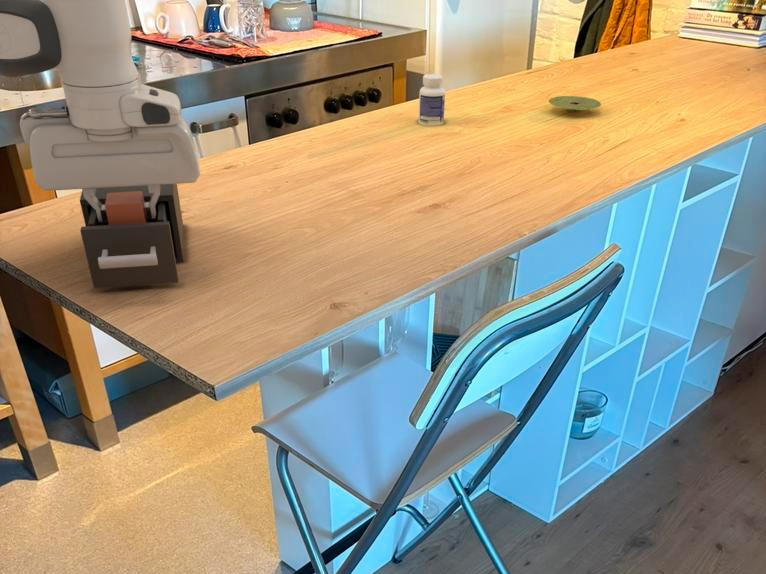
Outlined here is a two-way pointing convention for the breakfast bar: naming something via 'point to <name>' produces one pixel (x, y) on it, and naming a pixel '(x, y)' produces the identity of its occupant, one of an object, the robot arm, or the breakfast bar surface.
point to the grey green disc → (574, 103)
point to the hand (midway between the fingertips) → (128, 219)
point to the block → (125, 208)
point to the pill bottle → (431, 101)
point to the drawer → (130, 251)
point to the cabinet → (166, 194)
